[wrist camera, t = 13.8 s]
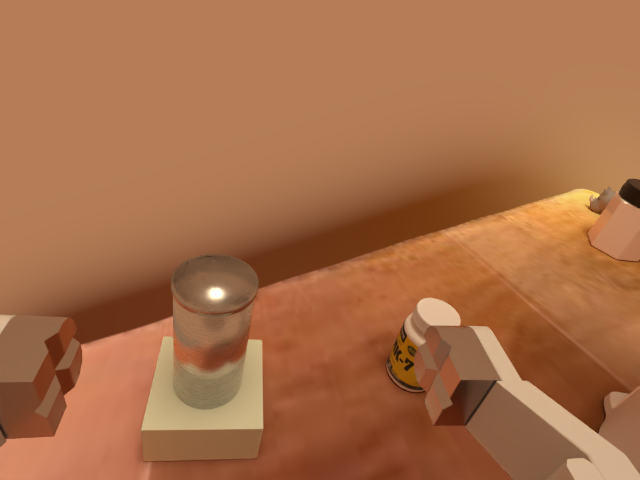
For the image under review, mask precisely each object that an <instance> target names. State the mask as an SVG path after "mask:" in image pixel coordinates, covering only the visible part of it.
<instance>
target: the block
mask: <svg viewBox="0 0 640 480" xmlns="http://www.w3.org/2000/svg"><path fill="white" fill-rule="evenodd" d="M262 432H263V380H262V340H248V345H247V352H246V358H245V365H244V371H243V378H242V384H241V387H240V390H239V392H238V393H237V395H236V396H235V397H234V398H233V399H232V400H231V401H230V402H228V403H227V404H225V405H223V406H221V407H218V408H215V409H207V410H204V409H196V408H193V407H190V406H188V405H186V404H185V403H183V402H182V401H181V400H180V399H179V398H178V396H177V395H176V393H175V390H174V384H173V337H163V341H162V345H161V349H160V353H159V358H158V362H157V366H156V370H155V374H154V378H153V383H152V387H151V391H150V395H149V399H148V403H147V407H146V412H145V416H144V420H143V424H142V428H141V437H142V449H143V461H144V462H145V461H181V460H218V459H254V458H257V455H258V451H259V446H260V441H261V437H262Z"/></svg>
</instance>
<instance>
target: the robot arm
mask: <svg viewBox="0 0 640 480" xmlns="http://www.w3.org/2000/svg"><path fill="white" fill-rule="evenodd" d="M75 331H76V326H75V323H74V320H73V319H72V318H67V317H46V316H25V315H0V447H1V446H2V445H3V444H4V443H5V442H6V439H16V438H34V437H53V436H54V435H55V433H56V430H57V428H58V426H59V423H60V421H61V419H62V416H63V414H64V411H65V409H66V407H67V405H66V402H65V399H64V395H65V394H66V393H67V392H69V391H70V390H71V389H72V388H74V387H75V385H76V382H77V379H78V377H79V374H80V369H81V364H82V349H81V345H80V343H79V342H78V341H76V340H75V339H74V338H73V336H74V333H75ZM424 338H425V340H426V342H425V343H424V344H422V345H421V346H419V347H418V349H417V351H416V354H415V356H414V370H415V376H416V379H417V382H418V384H419V385H420V386H421V387H422V388H423V389H424V390H425V391H426V392H427V394H426V397H425V400H424V401H425V404H426V407H427V409H428V412H429V415H430V417H431V420H432V423H433V426H466V427H465V428H466V429H467V430H468V431H469V432H470V433H471V434H472V435H473V436H474V438H475V439H476V440H477V441H478V442H479V443H480V444H481V445H482V446H483V447H484V448H485V450H486V451H487V452H488V453H489V454H490V455H491V456H492V457H493V458H494V459H495V461H496V462H497V463H498V464H499V465H500V466H501V467H502V468H503V469H504V470H505V472H506V473H507V474H508V475H509V476H510V477H511V478H512V479H513V480H640V386H639V387H637V388H636V389H635V390H634V391H632V392H631V393H630V394H626V393H621V392H615V391H613V392H611V393H609V394H608V395H607V396H605V397H604V408H605V413H606V417H605V420H604V422H603V424H602V426H601V427H600V430H599V433H598V434H597V433H596V432H595V431H593V430H592V429H591V428H589V427H588V426H587V425H585V424H584V423H583V422H581V421H580V420H579V419H577V418H576V417H575V416H573V415H572V414H571V413H570V412H568V411H567V410H566V409H564V408H563V407H562V406H560V405H559V404H558V403H556V402H555V401H554V400H552V399H551V398H550V397H548V396H547V395H546V394H544V393H543V392H542V391H540V390H539V389H538V388H536V387H535V386H534V385H532V384H531V383H530V382H528V381H522V380H521V378H520V376H519V375H518V373H517V371H516V370H515V368H514V367H513V365H512V363H511V362H510V360H509V358H508V357H507V355H506V353H505V352H504V350H503V348H502V347H501V345H500V343H499V342H498V340H497V338H496V337H495V335H494V333H493V332H492V330H491V329H489V328H488V327H487V326H432V325H431V326H430V327H429V328H427V330H426V332H425V334H424Z"/></svg>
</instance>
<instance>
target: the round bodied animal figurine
mask: <svg viewBox="0 0 640 480" xmlns="http://www.w3.org/2000/svg"><path fill="white" fill-rule="evenodd" d="M615 193H616V192H614V191H612V190H611V188H610V187H608V190H606V189H604V192H603V193H601V194H600V196H599V197H598V198H596V197H595V200H594V199H593V196H592V195H591V197H590V208H591V210H592V211H594V212H601V211H603V210H604V209H605V208H606V206H607V205H608V203H609V202H610V200H611V199H612V197H613V196H614V194H615Z"/></svg>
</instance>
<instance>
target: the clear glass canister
mask: <svg viewBox="0 0 640 480" xmlns="http://www.w3.org/2000/svg"><path fill="white" fill-rule="evenodd" d="M171 290H172V294H173V384H174V390H175V393H176V395H177V396H178V398H179V399H180V400H181V401H182V402H183V403H185V404H186V405H188V406H190V407H193V408H196V409H204V410H207V409H215V408H218V407H221V406H223V405H225V404H227V403H228V402H230V401H231V400H232V399H233V398H234V397H235V396H236V395H237V393H238V392H239V390H240V387H241V384H242V378H243V371H244V365H245V358H246V352H247V345H248V339H249V332H250V326H251V319H252V313H253V306H254V299H255V297H256V295H257V290H258V278H257V275H256V273H255V272H254V270H253V269H252V268H251V267H250V266H249V265H248V264H247V263H245V262H243V261H241V260H239V259H237V258H235V257H231V256H227V255H221V254H207V255H201V256H197V257H193V258H191V259H189V260H187V261H185V262H183V263H182V264H181V265H180V266H178V268H177V269H176V270H175V272H174V273H173V276H172V280H171Z"/></svg>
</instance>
